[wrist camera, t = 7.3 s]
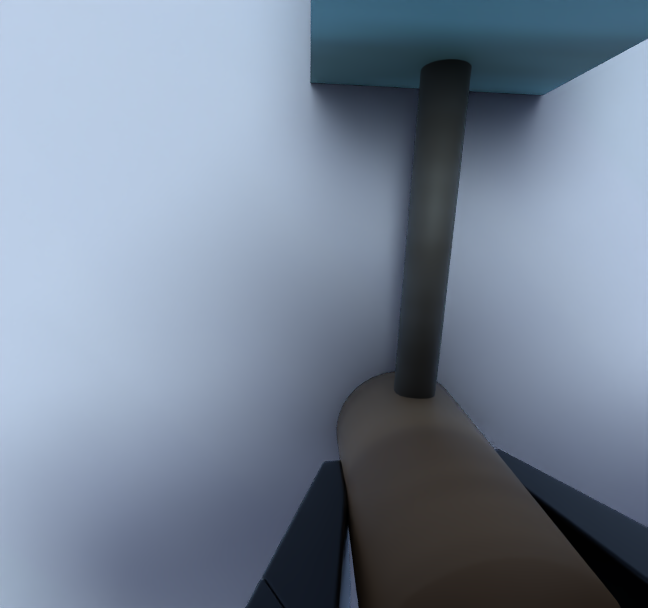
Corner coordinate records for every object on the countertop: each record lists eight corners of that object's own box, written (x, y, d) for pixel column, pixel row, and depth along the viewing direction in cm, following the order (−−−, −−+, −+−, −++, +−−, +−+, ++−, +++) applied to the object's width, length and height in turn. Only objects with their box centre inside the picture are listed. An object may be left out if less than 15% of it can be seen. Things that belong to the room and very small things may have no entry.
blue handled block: (483, 482, 10) (664, 754, 5) (300, 481, 10) (289, 765, 5) (588, -203, 7) (1435, -1492, 2) (318, -228, 7) (349, -1797, 1)
